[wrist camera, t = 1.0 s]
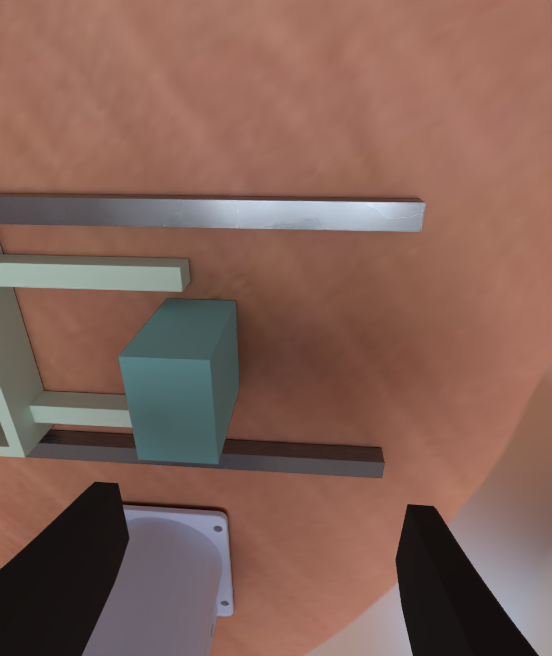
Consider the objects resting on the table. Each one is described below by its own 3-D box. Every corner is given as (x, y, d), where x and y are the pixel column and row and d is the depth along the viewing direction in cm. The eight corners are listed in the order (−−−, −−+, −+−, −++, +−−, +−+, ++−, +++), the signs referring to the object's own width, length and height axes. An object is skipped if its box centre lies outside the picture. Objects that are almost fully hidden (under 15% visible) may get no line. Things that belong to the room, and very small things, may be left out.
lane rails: (379, 463, 21) (382, 478, 20) (-81, 436, 23) (-98, 449, 22) (418, 198, 15) (425, 202, 14) (-203, 190, 17) (-231, 193, 16)
